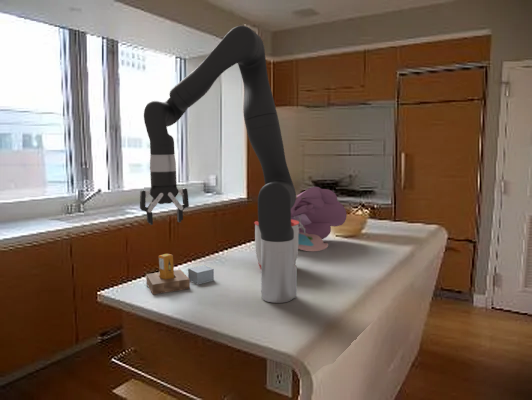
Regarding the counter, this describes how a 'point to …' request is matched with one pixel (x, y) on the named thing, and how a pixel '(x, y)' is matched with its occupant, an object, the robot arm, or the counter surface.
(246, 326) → the counter surface
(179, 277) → the hole plate
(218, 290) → the counter surface
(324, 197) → the flower arrangement
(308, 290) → the counter surface
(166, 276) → the supplement box
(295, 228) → the citrus juicer
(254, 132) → the robot arm
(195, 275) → the wide block
